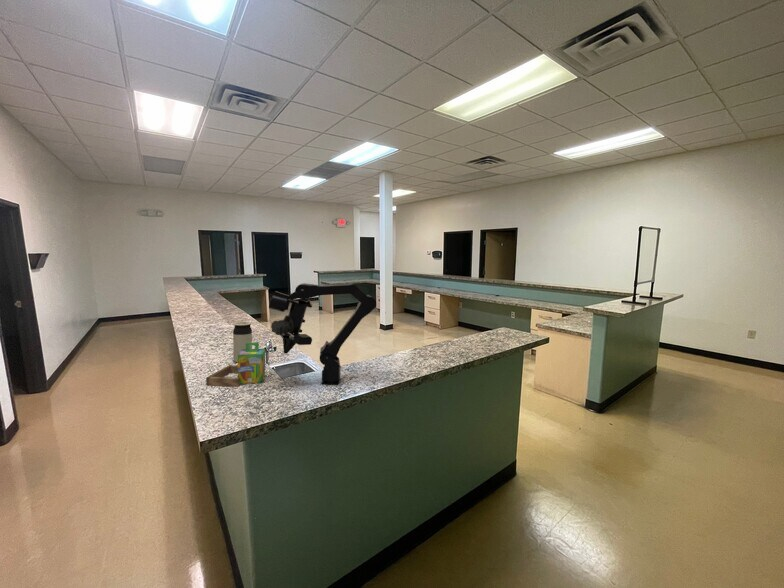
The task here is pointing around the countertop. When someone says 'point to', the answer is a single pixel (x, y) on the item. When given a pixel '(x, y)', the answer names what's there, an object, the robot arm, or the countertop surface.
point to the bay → (220, 378)
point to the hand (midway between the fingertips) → (285, 353)
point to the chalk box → (251, 364)
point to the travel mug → (241, 337)
